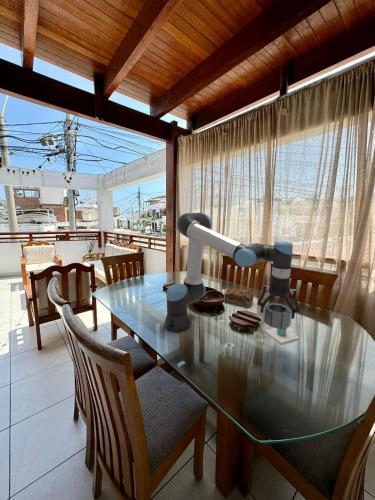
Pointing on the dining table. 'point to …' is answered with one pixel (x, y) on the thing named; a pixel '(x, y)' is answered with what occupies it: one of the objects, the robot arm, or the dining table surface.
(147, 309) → the dining table surface
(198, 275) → the robot arm
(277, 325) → the ring
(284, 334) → the block
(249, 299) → the bread
